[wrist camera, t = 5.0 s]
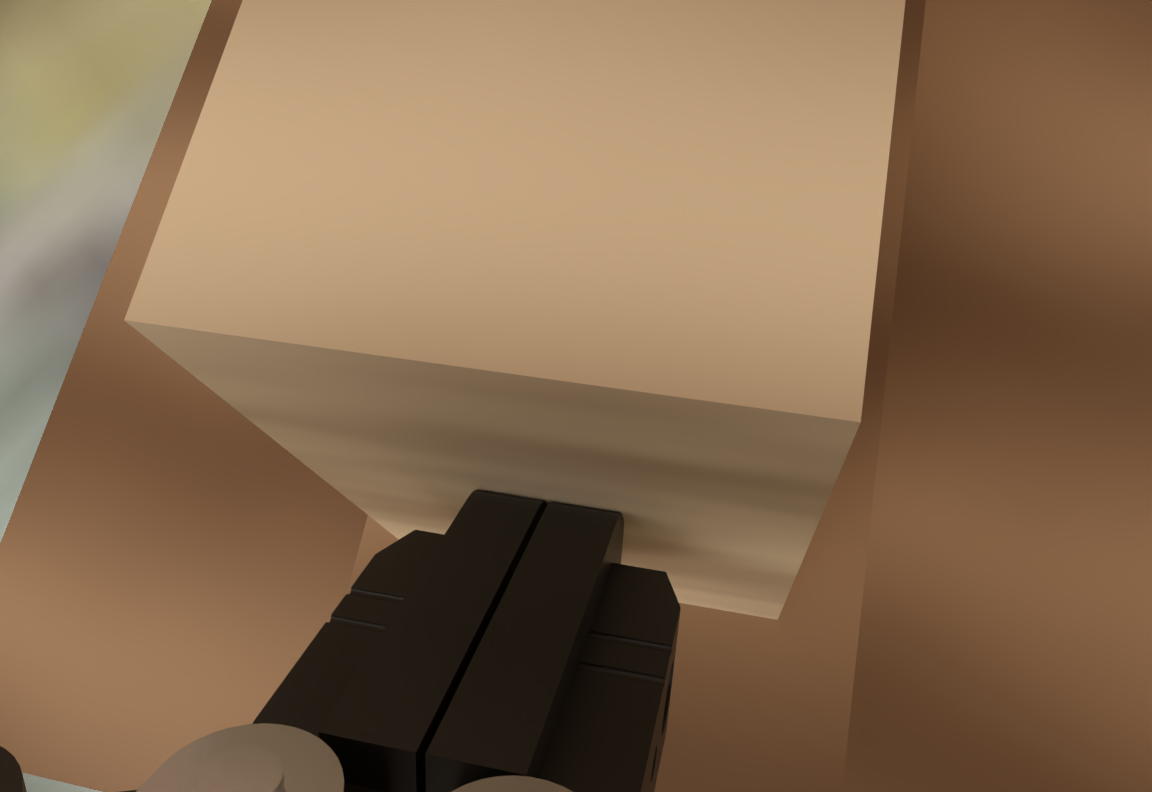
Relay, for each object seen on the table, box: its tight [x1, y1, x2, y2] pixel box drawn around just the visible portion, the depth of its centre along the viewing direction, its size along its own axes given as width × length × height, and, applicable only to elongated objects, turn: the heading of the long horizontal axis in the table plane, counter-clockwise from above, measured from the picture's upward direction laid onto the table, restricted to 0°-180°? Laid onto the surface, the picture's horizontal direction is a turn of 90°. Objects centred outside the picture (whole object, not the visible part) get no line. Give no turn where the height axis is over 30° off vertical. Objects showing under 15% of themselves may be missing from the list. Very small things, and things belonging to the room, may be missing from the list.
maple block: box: [124, 0, 906, 620], centre depth 12 cm, size 10×5×8 cm, turn 169°
